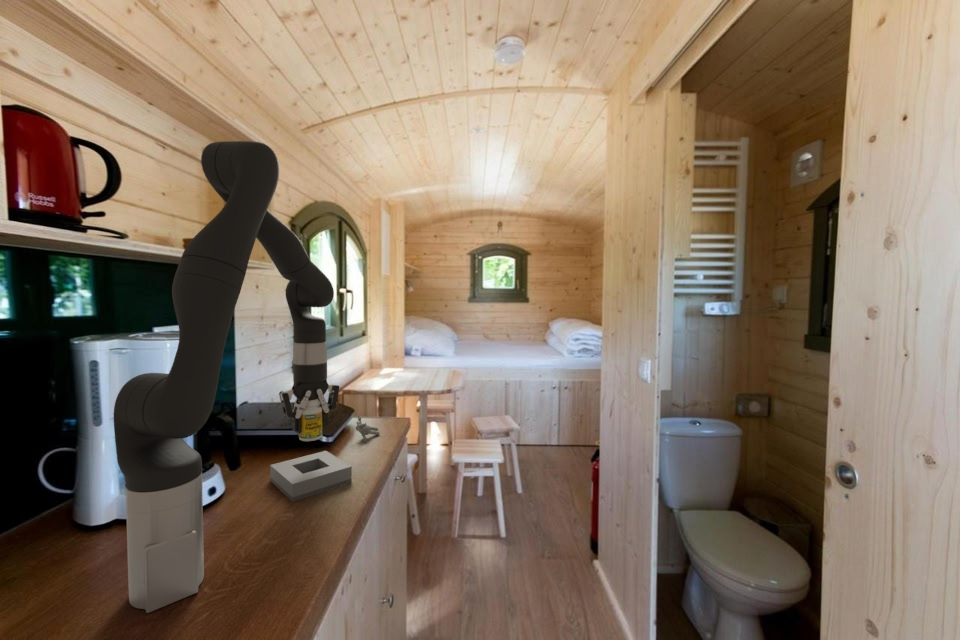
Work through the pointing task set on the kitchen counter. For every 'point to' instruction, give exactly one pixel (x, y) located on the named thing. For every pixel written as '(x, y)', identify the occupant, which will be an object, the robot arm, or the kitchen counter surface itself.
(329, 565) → the kitchen counter surface
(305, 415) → the supplement bottle
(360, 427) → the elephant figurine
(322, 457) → the socket block
